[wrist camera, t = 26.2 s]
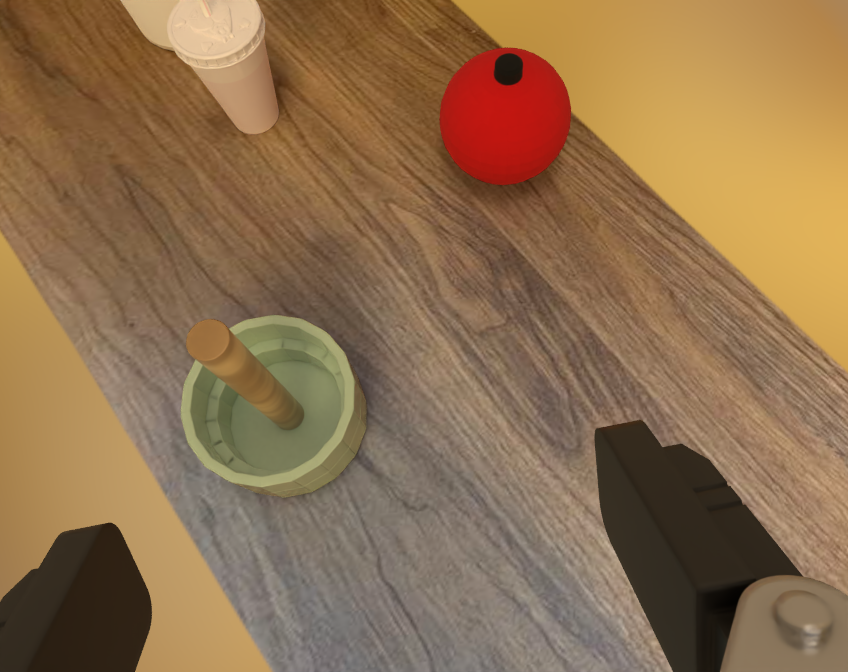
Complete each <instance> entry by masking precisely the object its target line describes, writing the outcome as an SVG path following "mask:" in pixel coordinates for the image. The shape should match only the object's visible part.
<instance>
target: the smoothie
mask: <svg viewBox="0 0 848 672" xmlns="http://www.w3.org/2000/svg"><path fill="white" fill-rule="evenodd" d="M167 34H168V37H169V40H170V42H171V44H172V47H173V49H174V51H175V52H176V54H177V56H178V57H179V58H180V59H182V60H183V61H184V62H185V63H187V64H189V65H190V66H191V67H192V68H193V70H194V71H195V72H196V74H197V75H198V76H199V78H200V79H201V80H202V82H203V83H204V84H205V86H206V87H207V88H208V90H209V91H210V92H211V94H212V95H213V96H214V98H215V99H216V100H217V102H218V103H219V104H220V106H221V107H222V108H223V110H224V111H225V112H226V114H227V115H228V116H229V118H230V119H231V120H232V122H233V123H234V124H235V126H236V127H237V128H238V129H239V130H240V131H242V132H244V133H247V134H259V133H263V132H265V131H267V130H269V129H270V128H271V127H272V126H273V125H274V124H275V123H276V121H277V119H278V116H279V108H278V104H277V99H276V94H275V89H274V84H273V80H272V75H271V70H270V65H269V60H268V56H267V51H266V46H265V40H264V34H265V20H264V16H263V13H262V12H261V10H260V7H259V5H258V3H257V1H256V0H180V1H179V2H178V3H177V4H176V6H175V7H174V8H173V10H172V12H171V14H170V16H169V19H168V22H167Z"/></svg>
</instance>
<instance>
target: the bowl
mask: <svg viewBox="0 0 848 672" xmlns="http://www.w3.org/2000/svg"><path fill="white" fill-rule="evenodd" d="M229 329H230V331H231V332H232V333H233V334H234V335H235V336H236V337H237V338H238V339H239V340H240V341H241V342H242V343H243V344H244V345H245V346H246V347H247V348H248V349H249V351H250V352H251V353H252V354H253V355H254V356H255V357H256V358H257V359H258V360H259V361H260V362H261V363H262V364H263V365H264V366H265V367H266V368H267V370H268V371H269V372H270V373H271V374H272V375H273V376H274V377H275V378H276V379H277V380H278V381H279V382H280V383H281V384H282V385H283V386H284V387H285V388H286V390H287V391H288V392H289V393H290V394H291V395H292V396H293V397H294V398H295V399H296V400H297V401H298V402H299V403H300V404H301V405H302V407H303V409H304V419H303V421H302V423H301V424H300V425H299V426H298V427H297V428H295V429H292V430H284V429H281V428H280V427H279V426H277V425H276V424H275V423H274V422H272V421H271V420H270V419H269V418H267V417H266V416H265V415H264V414H262V413H261V412H260V411H259V410H258V409H256V408H255V407H254V406H253V405H251V404H250V403H249V402H248V401H246V400H245V399H244V398H243V397H242V396H240V395H239V394H238V393H237V392H235V391H234V390H233V389H232V388H230V387H229V386H228V385H227V384H226V383H224V382H223V381H222V380H221V379H219V378H218V377H217V376H216V375H214V374H213V373H212V372H211V371H210V370H208V369H207V368H206V367H205V366H203V365H202V364H201V363H200V362H198V361H197V360H195V362H194V364H193V366H192V368H191V370H190V372H189V375H188V377H187V379H186V381H185V383H184V384H185V385H184V387H183V396H182V404H181V419H182V423H183V427H184V431H185V435H186V439H187V442H188V444H189V446H190V447H191V448H192V450H193V451H194V452H195V454H196V455H197V457H198V458H199V459H200V461H201V462H202V463H203V465H204V466H205V467H206V468H208V469H210V470H211V471H213V472H214V473H216V474H218V475H219V476H221V477H223V478H224V479H226V480H227V481H229V482H231V483H234V484H236V485H239V486H241V487H244V488H246V489H249V490H251V491H253V492H256V493H260V494H266V495H271V496H277V497H290V496H295V495H300V494H306V493H311V492H313V491H315V490H316V489H318V488H320V487H322V486H323V485H325V484H327V483H328V482H330V481H332V480H333V479H335V478H336V477H338V476H339V475H340V473H341V472H342V471H343V470H344V469H345V467H346V466H347V465H348V464H349V463H350V462H351V460H352V459H353V458H354V457H355V455H356V454H357V451H358V449H359V446H360V443H361V441H362V438H363V436H364V433H365V430H366V410H367V402H366V398H365V395H364V393H363V390H362V387H361V384H360V381H359V378H358V376H357V375H356V373H355V371H354V369H353V367H352V365H351V363H350V361H349V360H348V358H347V356H346V354H345V352H344V351H343V350H342V349H341V348H340V347H339V345H338V344H337V343H336V342H335V341H334V340H333V338H332V337H331V336H330V335H329V334H328V333H327V332H326V331H324V330H322V329H320V328H319V327H317V326H315V325H313V324H311V323H309V322H307V321H305V320H304V319H301V318H294V317H287V316H279V315H270V316H264V317H259V318H254V319H249V320H245V321H242V322H240V323H238V324H237V325H235V326H233V327H231V328H229Z"/></svg>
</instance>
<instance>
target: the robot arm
mask: <svg viewBox="0 0 848 672" xmlns="http://www.w3.org/2000/svg"><path fill="white" fill-rule="evenodd" d="M595 451H596V463H597V476H598V488H599V500H600V508H601V513H602V518H603V522H604V525H605V529H606V532H607V535H608V537H609V540H610V542H611V544H612V546H613V548H614V550H615V552H616V554H617V557H618V559H619V561H620V563H621V565H622V567H623V569H624V571H625V573H626V575H627V577H628V579H629V581H630V583H631V585H632V587H633V590H634V592H635V594H636V596H637V598H638V600H639V602H640V604H641V606H642V608H643V610H644V612H645V614H646V616H647V618H648V621H649V623H650V625H651V627H652V629H653V631H654V633H655V635H656V637H657V639H658V641H659V643H660V645H661V647H662V649H663V651H664V654H665V656H666V658H667V660H668V662H669V664H670V666H671V668H672V670H673V672H848V596H847V595H846V594H844V593H843V592H841V591H840V590H838V589H836V588H834V587H832V586H830V585H828V584H826V583H823V582H821V581H818V580H814V579H811V578H807V577H803V576H802V574H801V573H800V572H799V571H798V570H797V568H796V567H795V566H794V565H793V563H792V562H791V561H790V560H789V558H788V557H787V556H786V555H785V553H784V552H783V551H782V550H781V548H780V547H779V546H778V545H777V543H776V542H775V541H774V540H773V538H772V537H771V536H770V535H769V534H768V532H767V531H766V530H765V529H764V527H763V526H762V525H761V524H760V522H759V521H758V520H757V519H756V517H755V516H754V515H753V514H752V512H751V511H750V510H749V509H748V507H747V506H746V505H743V504H742V501H741V499H740V497H739V496H738V495H737V494H736V493H735V491H734V490H733V489H732V488H731V486H728V485H727V481H726V480H725V479H724V478H723V476H722V475H721V474H720V473H719V471H718V470H717V469H716V468H715V466H714V465H713V464H712V463H711V461H710V460H709V459H707V458H705V457H703V456H702V455H700V454H698V453H697V452H695V451H693V450H691V449H690V448H688V447H686V446H685V445H683V444H677V445H672V446H667V447H662V446H661V445H660V443H659V442H658V440H657V439H656V438H655V436H654V435H653V433H652V432H651V431H650V429H649V428H648V427H647V425H646V424H645V423H644V422H643V421H642V420H637V421H632V422H627V423H622V424H617V425H612V426H607V427H602V428H597V429H596V430H595ZM151 619H152V606H151V599H150V595H149V592H148V589H147V587H146V585H145V582H144V581H143V578H142V576H141V574H140V572H139V570H138V567H137V565H136V563H135V561H134V559H133V557H132V555H131V552H130V550H129V548H128V546H127V544H126V542H125V540H124V537H123V535H122V533H121V532H120V530H119V528H118V527H117V526H116V525H115V524H113V523H105V524H100V525H95V526H91V527H85V528H80V529H75V530H70V531H65V532H62V533H61V534H60V535H59V536H58V537H57V538H56V540H55V542H54V543H53V545H52V547H51V548H50V550H49V552H48V553H47V555H46V557H45V558H44V560H43V562H42V563H41V565H40V567H39V568H38V569H33V570H31V571H30V572H29V573H28V574H27V575H26V576H25V577H24V578H23V579H22V580H21V581H19V583H17V584H16V585H15V586H14V587H13V588H12V589H11V590H10V591H9V592H8V593H7V594H6V595H5V596H4V597H3V599H2V600H1V602H0V672H135V670H136V667H137V664H138V661H139V658H140V656H141V653H142V650H143V647H144V644H145V642H146V639H147V636H148V633H149V630H150V626H151Z"/></svg>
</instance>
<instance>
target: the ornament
mask: <svg viewBox="0 0 848 672" xmlns="http://www.w3.org/2000/svg"><path fill="white" fill-rule="evenodd" d="M570 118H571V106H570V100H569V96H568V92H567V89H566V87H565V84H564V82H563V80H562V79H561V77H560V76H559V75H558V73H557V72H556V70H555V69H554V68H553V67H552V66H551V65H550V64H549V63H548V62H547V61H546V60H544V59H542V58H541V57H539V56H537V55H535V54H534V53H531V52H528V51H526V50H522V49H517V48H498V49H493V50H490V51H487V52H484V53H482V54H480V55H477V56H475V57H473V58H472V59H471V60H469V61H468V62H466V63H465V64H464V65H463V66H462V67H461V68H460V69H459V70H458V71H457V73H456V74H455V75H454V76H453V78H452V79H451V81H450V82H449V84H448V86H447V88H446V91H445V93H444V96H443V99H442V102H441V110H440V119H439V120H440V129H441V134H442V139H443V141H444V144H445V147H446V149H447V151H448V152H449V154H450V155H451V157H452V159H453V160H454V162H455V163H456V164H457V165H458V166H459V167H460V168H461V169H462V170H463V171H465V172H466V173H468V174H469V175H471V176H472V177H474V178H476V179H478V180H480V181H483V182H486V183H490V184H497V185H509V184H516V183H519V182H523V181H526V180H528V179H530V178H532V177H534V176H536V175H538V174H539V173H541V172H542V171H544V170H545V169H546V168H547V167H548V166H549V165H550V164H551V163H552V162H553V161H554V159H555V158H556V157H557V156H558V155H559V153H560V151H561V149H562V148H563V146H564V144H565V141H566V139H567V136H568V132H569V129H570Z"/></svg>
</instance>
